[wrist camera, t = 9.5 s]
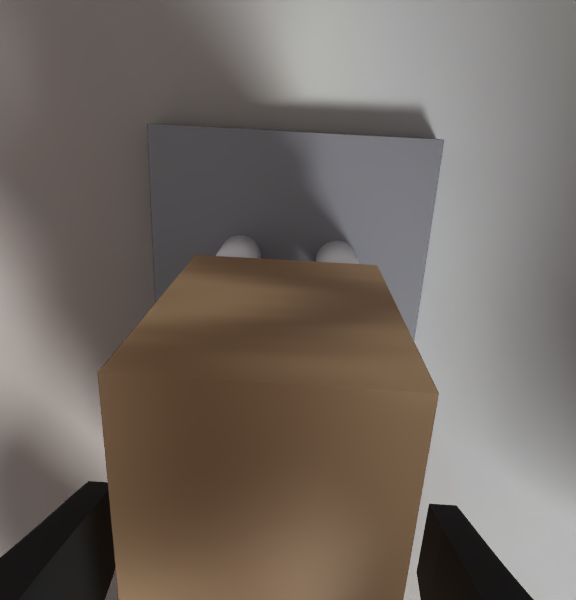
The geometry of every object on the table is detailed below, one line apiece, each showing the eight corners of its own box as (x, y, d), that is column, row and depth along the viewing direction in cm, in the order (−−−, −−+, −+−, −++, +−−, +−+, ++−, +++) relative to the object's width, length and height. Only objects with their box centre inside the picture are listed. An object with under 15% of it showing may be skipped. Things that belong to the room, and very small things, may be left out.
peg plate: (436, 138, 14) (472, 144, 11) (372, 585, 20) (384, 671, 17) (156, 123, 14) (113, 124, 11) (173, 571, 20) (148, 654, 17)
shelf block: (377, 265, 12) (439, 393, 6) (336, 622, 16) (352, 893, 10) (195, 255, 12) (97, 372, 6) (201, 613, 16) (144, 877, 11)
